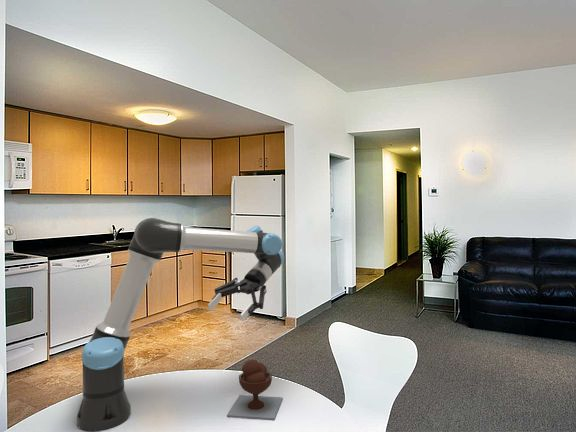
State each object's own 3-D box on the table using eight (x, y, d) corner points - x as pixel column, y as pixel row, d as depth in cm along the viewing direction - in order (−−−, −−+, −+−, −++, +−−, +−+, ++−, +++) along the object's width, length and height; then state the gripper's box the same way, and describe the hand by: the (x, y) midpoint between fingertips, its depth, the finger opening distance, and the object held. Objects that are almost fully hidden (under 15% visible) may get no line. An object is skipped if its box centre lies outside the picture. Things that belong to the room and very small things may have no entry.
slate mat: (226, 416, 124) (226, 414, 124) (239, 396, 138) (239, 394, 138) (274, 420, 122) (274, 418, 122) (282, 399, 136) (282, 397, 136)
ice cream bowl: (268, 415, 124) (267, 366, 124) (234, 412, 126) (233, 364, 126) (276, 399, 134) (275, 354, 134) (244, 396, 137) (243, 352, 136)
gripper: (287, 292, 149) (257, 331, 133) (232, 277, 160) (198, 311, 144) (285, 275, 145) (254, 314, 129) (229, 261, 156) (194, 295, 141)
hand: (225, 312), depth 137 cm, fingers open, 13 cm apart
